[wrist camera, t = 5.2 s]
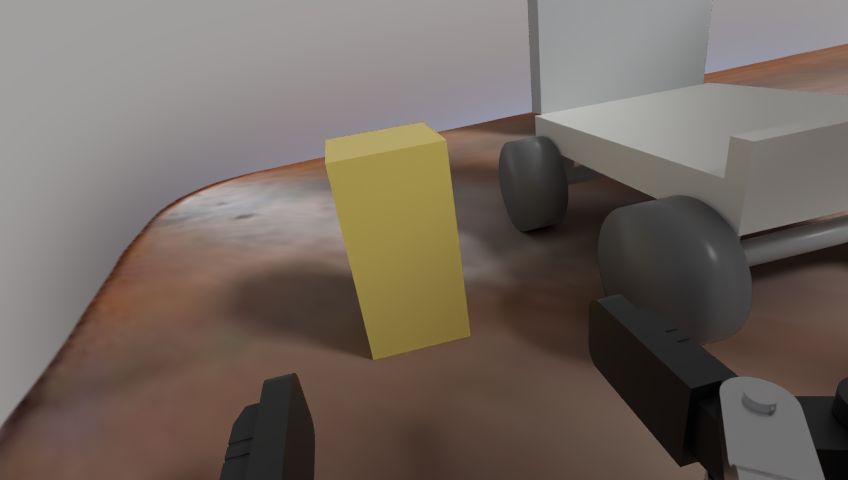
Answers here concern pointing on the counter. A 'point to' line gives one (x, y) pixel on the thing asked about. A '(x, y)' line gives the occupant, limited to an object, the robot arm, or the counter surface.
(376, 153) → the yellow rectangular block
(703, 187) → the trolley
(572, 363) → the counter surface
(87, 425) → the counter surface
